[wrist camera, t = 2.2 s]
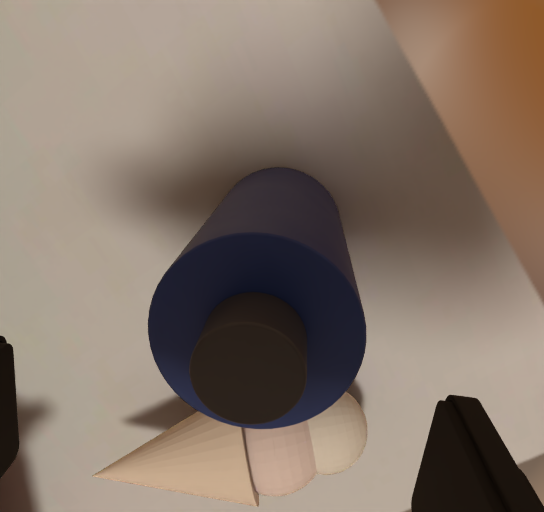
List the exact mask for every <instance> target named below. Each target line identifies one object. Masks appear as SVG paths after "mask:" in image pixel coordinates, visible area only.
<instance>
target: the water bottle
mask: <svg viewBox="0 0 544 512" xmlns="http://www.w3.org/2000/svg"><path fill="white" fill-rule="evenodd" d="M148 335H149V341H150V347H151V350H152V354H153V357H154V360H155V362H156V364H157V366H158V368H159V370H160V372H161V374H162V375H163V377H164V379H165V380H166V382H167V383H168V384H169V385H170V387H171V388H172V389H173V390H174V391H175V393H176V394H177V395H179V396H180V397H181V398H182V399H183V400H184V401H185V402H186V403H188V404H189V405H190V406H192V407H193V408H194V409H196V410H197V411H199V412H201V413H203V414H204V415H206V416H208V417H210V418H213V419H215V420H217V421H220V422H223V423H226V424H229V425H232V426H237V427H242V428H251V429H274V428H282V427H287V426H291V425H295V424H298V423H301V422H304V421H306V420H309V419H311V418H313V417H315V416H317V415H319V414H320V413H322V412H323V411H325V410H326V409H328V408H329V407H331V406H332V405H333V404H334V403H335V402H336V401H337V400H338V399H340V398H341V396H342V395H343V394H344V393H345V392H346V391H347V389H348V388H349V387H350V385H351V384H352V382H353V380H354V379H355V377H356V375H357V373H358V371H359V369H360V366H361V364H362V360H363V357H364V353H365V347H366V323H365V317H364V312H363V308H362V304H361V300H360V296H359V292H358V288H357V284H356V280H355V276H354V272H353V268H352V264H351V260H350V256H349V252H348V248H347V244H346V240H345V236H344V232H343V228H342V224H341V220H340V216H339V212H338V209H337V206H336V204H335V202H334V200H333V198H332V197H331V195H330V193H329V192H328V191H327V190H326V189H325V187H324V186H323V185H322V184H320V183H319V182H318V181H317V180H316V179H314V178H313V177H311V176H309V175H307V174H305V173H303V172H300V171H297V170H294V169H289V168H279V167H278V168H268V169H263V170H260V171H257V172H254V173H252V174H250V175H248V176H246V177H245V178H243V179H242V180H240V181H239V182H238V183H237V184H236V185H235V186H234V187H233V188H232V189H231V191H230V192H229V193H228V194H227V196H226V197H225V198H224V199H223V201H222V202H221V203H220V204H219V206H218V207H217V208H216V209H215V211H214V212H213V213H212V215H211V216H210V217H209V218H208V220H207V221H206V222H205V223H204V225H203V226H202V227H201V228H200V230H199V231H198V232H197V234H196V235H195V236H194V237H193V239H192V240H191V241H190V242H189V244H188V245H187V246H186V247H185V249H184V250H183V251H182V253H181V254H180V255H179V256H178V258H177V259H176V260H175V261H174V263H173V264H172V265H171V266H170V268H169V269H168V270H167V272H166V273H165V274H164V276H163V277H162V279H161V281H160V282H159V284H158V286H157V288H156V290H155V293H154V295H153V298H152V301H151V305H150V309H149V318H148Z"/></svg>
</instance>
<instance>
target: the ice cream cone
mask: <svg viewBox="0 0 544 512" xmlns="http://www.w3.org/2000/svg"><path fill="white" fill-rule="evenodd" d="M366 440H367V422H366V418H365V415H364V412H363V410H362V409H361V407H360V405H359V404H358V402H357V401H356V400H355V399H354V398H353V397H352V396H351V395H350V394H349V393H347V392H345V393H344V394H343V395H342V396H341V398H340V399H338V400H337V401H336V402H335V403H334V404H333V405H332V406H331V407H329V408H328V409H326V410H325V411H323V412H322V413H320V414H319V415H317V416H315V417H313V418H311V419H309V420H306V421H304V422H301V423H298V424H295V425H291V426H287V427H282V428H274V429H251V428H242V427H237V426H232V425H229V424H226V423H223V422H220V421H217V420H215V419H213V418H210V417H208V416H206V415H204V414H203V413H201V412H199V411H198V412H196V413H194V414H193V415H191V416H190V417H188V418H186V419H185V420H183V421H181V422H180V423H178V424H176V425H175V426H173V427H172V428H170V429H168V430H167V431H165V432H163V433H162V434H160V435H158V436H157V437H155V438H154V439H152V440H150V441H149V442H147V443H145V444H144V445H142V446H140V447H139V448H137V449H136V450H134V451H132V452H131V453H129V454H127V455H126V456H124V457H122V458H121V459H119V460H118V461H116V462H114V463H113V464H111V465H109V466H108V467H106V468H104V469H103V470H101V471H99V472H98V473H96V474H95V475H93V476H94V477H99V478H105V479H110V480H116V481H121V482H127V483H132V484H137V485H143V486H148V487H154V488H159V489H165V490H170V491H176V492H181V493H187V494H192V495H197V496H203V497H208V498H214V499H219V500H225V501H230V502H236V503H241V504H247V505H252V506H258V505H259V494H262V495H268V496H283V495H287V494H290V493H294V492H296V491H298V490H299V489H301V488H303V487H304V486H306V485H307V484H308V483H309V482H310V481H311V480H312V479H313V478H314V476H315V475H316V474H323V475H329V474H336V473H339V472H342V471H344V470H346V469H347V468H349V467H351V466H352V465H353V464H354V463H355V462H356V461H357V460H358V458H359V457H360V456H361V454H362V452H363V450H364V448H365V445H366Z"/></svg>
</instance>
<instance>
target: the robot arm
mask: <svg viewBox="0 0 544 512" xmlns="http://www.w3.org/2000/svg"><path fill="white" fill-rule="evenodd" d="M18 449H19V433H18V418H17V402H16V386H15V370H14V354H13V347H12V345H11V344H8V343H7V342H6V340H5V338H4V337H3V336H0V478H1V477H2V476H3V474H4V473H5V472H6V470H7V469H8V468H9V467H10V465H11V464H12V463H13V461H14V460H15V458H16V455H17V453H18ZM411 509H412V512H544V506H543V505H542V503H541V501H540V500H539V498H538V496H537V494H536V493H535V491H534V489H533V488H532V486H531V484H530V483H529V481H528V479H527V477H526V476H525V474H524V473H523V472H522V471H521V470H520V469H519V468H518V467H517V465H516V463H515V461H514V460H513V458H512V456H511V455H510V453H509V451H508V449H507V448H506V446H505V444H504V443H503V441H502V439H501V437H500V436H499V434H498V432H497V430H496V429H495V427H494V425H493V424H492V422H491V420H490V418H489V417H488V415H487V413H486V412H485V410H484V408H483V406H482V405H481V403H480V401H479V400H478V399H476V398H471V397H464V396H456V395H449V396H448V397H447V398H446V400H445V401H442V400H440V401H439V402H438V403H437V406H436V409H435V413H434V417H433V420H432V424H431V428H430V432H429V435H428V439H427V443H426V447H425V450H424V454H423V458H422V462H421V465H420V469H419V473H418V477H417V480H416V484H415V488H414V492H413V495H412V503H411Z"/></svg>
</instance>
